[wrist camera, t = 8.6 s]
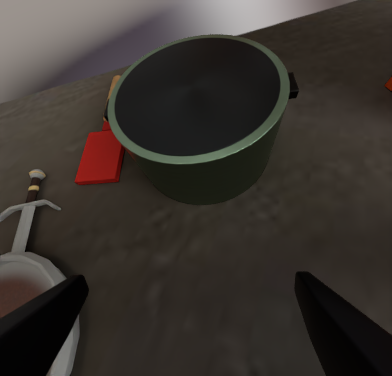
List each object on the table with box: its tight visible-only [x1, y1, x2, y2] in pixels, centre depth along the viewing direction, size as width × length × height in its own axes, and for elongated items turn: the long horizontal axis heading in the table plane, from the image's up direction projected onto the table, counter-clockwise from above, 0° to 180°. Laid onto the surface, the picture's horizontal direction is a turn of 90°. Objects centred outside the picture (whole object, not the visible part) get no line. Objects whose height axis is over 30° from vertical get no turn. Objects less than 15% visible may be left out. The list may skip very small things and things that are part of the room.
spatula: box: [75, 75, 125, 185], centre depth 28 cm, size 19×6×2 cm, turn 1°
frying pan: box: [0, 169, 79, 376], centre depth 19 cm, size 17×3×28 cm
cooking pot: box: [103, 35, 299, 205], centre depth 21 cm, size 16×18×9 cm
